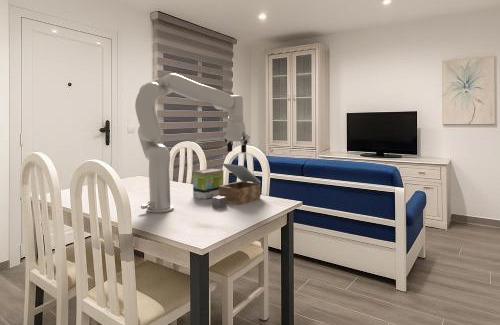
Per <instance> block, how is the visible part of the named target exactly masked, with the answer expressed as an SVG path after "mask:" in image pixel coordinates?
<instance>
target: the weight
mask: <svg viewBox="0 0 500 325" xmlns="http://www.w3.org/2000/svg"><path fill="white" fill-rule="evenodd" d="M211 207H212V208H214V209H223V208H226V207H227V202H226V197H224V196H214V197H211Z"/></svg>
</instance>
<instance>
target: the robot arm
mask: <svg viewBox="0 0 500 325" xmlns="http://www.w3.org/2000/svg"><path fill="white" fill-rule="evenodd" d="M171 93H174V94H177V95H179V96H181V97H185V98H187V99H190V100H192V101H197V102H205V103H209V104H212V106H213V107H214V108H215V109H216V110H217V111H218V110H219V111H221V110H222V111H223V110H224V111H225V110H228V117H227V120H228V122H227V124H226V134H224V135H223V140H224V142H226V146H227V149H226V150H227V152H228V153H230V152H233V142H240V143H241V145H240V146H241V148H240V149H241V150H240V151H241V153H242V154H243V153H244V154H245V153H247V145H248V143H249V141H250V139H251V136H249V135H248V134H247V131H246V127H245V126H246V125H245V122H244V98H243V96H242V95H241V94H237V95H236V94H233V95H231V94H230V93H227V92H225V91H222V90H221V89H217V88H215V87H211V86H209V85H205V84H202V83H199V82H196V81H194V80H193V79H192V80H191V79H189V78H187V77H185V76H183V75H180V74H177V73H169V74H167V75H165V76H163V77H160V78H158V79H155V80H153V81H149V82H147V83H144V84H143V85H141V86H140V88H139V91H138V94H137V95H136V98H135V103H134V109H135V114H136V117H137V121H138V125H139V126H138V129H137V135H138V138H139V142H140V145H141V147H142V148H141V149H142V150H143V154H144V157H145V158H146V159H147V161H148V182H149V185H148V186H149V188H148V189H149V200H148V201H147V203H146V204H141V206H140V209H141V210H145V209H146V211H147V212H148V213H154V214H155V213H156V214H158V213H159V214H161V213H167V212H172V211H174V209H175V206H174V205H172V204H171V182H170V181H171V178H170V165H171V164H170V162H171V153H170V150H169V148H168V147H167V146H166V145H163V144H162V141H161V138H162V134H163V133H162V128H161V125H160V122H159V118H158V116H157V112H156V102H157V101H158V100H159V99H161V98H163V97H165V96H168V95H169V94H171Z"/></svg>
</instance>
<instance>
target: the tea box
mask: <svg viewBox="0 0 500 325" xmlns="http://www.w3.org/2000/svg"><path fill="white" fill-rule="evenodd" d="M192 173H193V174H192V196H193V198H198V199H201V200H202V199H203V200H206V199H209V198H210V199H211V198H212V197H215V196H219V186H221V185H224V169H217V168H205V169H201V170H199V169H198V170H194V171H193V172H192Z"/></svg>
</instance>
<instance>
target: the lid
mask: <svg viewBox="0 0 500 325" xmlns="http://www.w3.org/2000/svg"><path fill="white" fill-rule="evenodd" d="M222 166H223V167H224V168H226V169H227V170H228V171H229V172H230V173H231V174H233V175H234V176H235V177H236V178H238V180H240V181H242V182H249V183H256V184H261V182H262V181H261V180H260V179H259V178H258V177H256V176H255V175H254V174H253V173H252V172H251V171H250V170H249V169H248V168H247V167H246V166H245V165H239V164H230V163H223V164H222Z"/></svg>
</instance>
